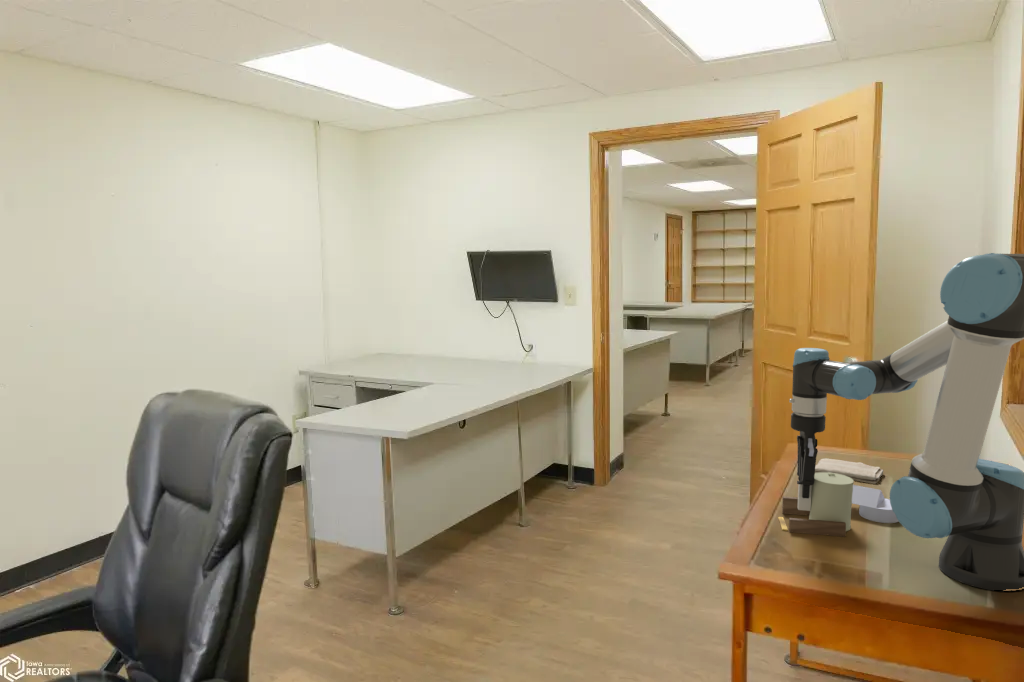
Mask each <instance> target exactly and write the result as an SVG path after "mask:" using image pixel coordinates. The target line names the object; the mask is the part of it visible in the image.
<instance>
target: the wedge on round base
mask: <svg viewBox="0 0 1024 682" xmlns="http://www.w3.org/2000/svg"><path fill="white" fill-rule="evenodd" d="M852 505H858V506H859V510H858V513H859V516H861V517H862V518H864V519H866V520H868V521H871V522H877V523H883V524H893V523H898V522H899V521H898V519H897V517H896V514H895V513H894V512H893V510H892V507H891V504H890V498H885V496H884V494H883V491H882V490H881V489H878V488H873V487H867V486H862V485H858V484H853V493H852ZM899 523H900V522H899Z"/></svg>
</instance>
